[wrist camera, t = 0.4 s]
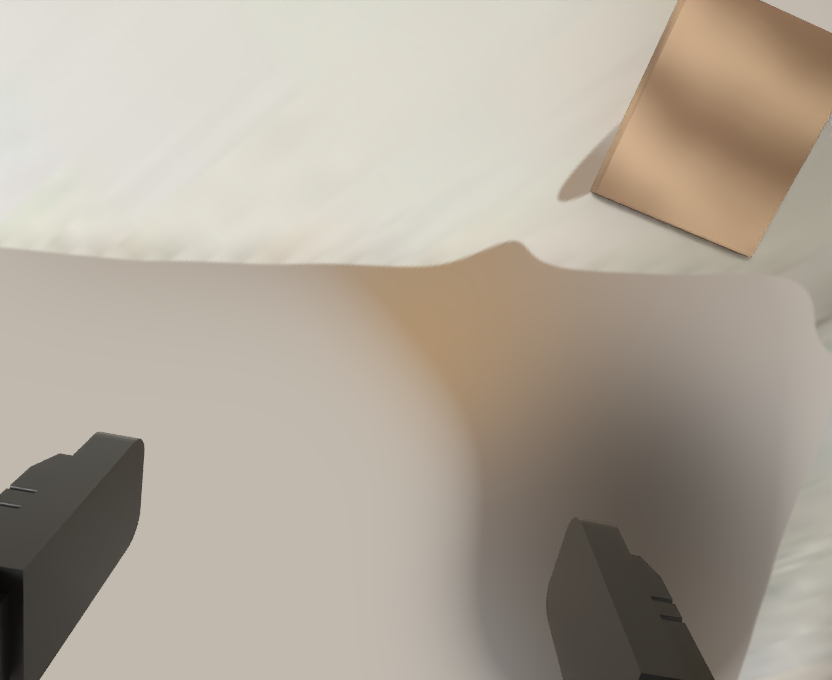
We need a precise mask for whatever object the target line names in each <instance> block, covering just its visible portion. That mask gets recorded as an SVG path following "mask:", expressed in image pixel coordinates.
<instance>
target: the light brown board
mask: <svg viewBox="0 0 832 680" xmlns="http://www.w3.org/2000/svg"><path fill="white" fill-rule="evenodd" d="M831 112H832V33H830V32H828V31H826V30H824V29H822V28H819V27H817V26H815V25H813V24H811V23H808V22H806V21H804V20H802V19H800V18H797V17H795V16H793V15H791V14H789V13H786V12H784V11H782V10H780V9H778V8H776V7H773V6H771V5H769V4H767V3H765V2H762V1H760V0H678V2H677V4H676V6H675V9H674V11H673V13H672V15H671V17H670V19H669V21H668V24H667V26H666V28H665V30H664V32H663V34H662V37H661V39H660V41H659V43H658V45H657V47H656V49H655V52H654V54H653V56H652V58H651V60H650V62H649V65H648V67H647V69H646V71H645V73H644V75H643V77H642V80H641V82H640V84H639V86H638V88H637V90H636V93H635V95H634V97H633V99H632V101H631V103H630V106H629V108H628V110H627V112H626V114H625V116H624V118H623V121H622V123H621V125H620V127H619V129H618V132H617V134H616V136H615V138H614V140H613V142H612V144H611V147H610V149H609V151H608V153H607V155H606V157H605V160H604V162H603V164H602V166H601V168H600V170H599V173H598V175H597V177H596V179H595V181H594V183H593V185H592V187H591V190H590V191H591V192H593V193H596V194H598V195H600V196H603V197H605V198H608V199H610V200H612V201H615V202H617V203H620V204H622V205H624V206H627V207H629V208H632V209H634V210H636V211H639V212H641V213H644V214H646V215H648V216H651V217H653V218H656V219H658V220H660V221H663V222H665V223H667V224H670V225H672V226H675V227H677V228H679V229H682V230H684V231H687V232H689V233H691V234H694V235H696V236H699V237H701V238H703V239H706V240H708V241H711V242H713V243H715V244H718V245H720V246H723V247H725V248H727V249H730V250H732V251H735V252H737V253H739V254H742V255H745V256H748V257H752V255H753V253H754V252H755V250H756V248H757V246H758V244H759V243H760V241H761V239H762V237H763V235H764V234H765V232H766V230H767V228H768V226H769V224H770V223H771V221H772V219H773V217H774V215H775V214H776V212H777V210H778V208H779V206H780V205H781V203H782V201H783V199H784V197H785V196H786V194H787V192H788V190H789V188H790V186H791V185H792V183H793V181H794V179H795V177H796V176H797V174H798V172H799V170H800V168H801V167H802V165H803V163H804V161H805V159H806V158H807V156H808V154H809V152H810V150H811V148H812V147H813V145H814V143H815V141H816V139H817V138H818V136H819V134H820V132H821V130H822V129H823V127H824V125H825V123H826V121H827V120H828V118H829V116H830V114H831Z"/></svg>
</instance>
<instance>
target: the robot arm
mask: <svg viewBox="0 0 832 680" xmlns="http://www.w3.org/2000/svg"><path fill="white" fill-rule="evenodd" d="M143 463H144V443H143V441H142V440H141V439H138V438H132V437H126V436H121V435H115V434H110V433H104V432H97V433H95V434H94V435H93V436H92V437H91V438H90V439H89V440H88V441H87V442H86V443H85V444H84V445H83V446H82V447H81V448H80V449H79V450H78V451H77V452H76V453H75V454H74V455H73V456H71V455H65V454H57V455H55V456H53V457H51V458H49V459H47V460H44V461H42V462H40V463H38V464H36V465H34V466H31V467H30V468H29V469H28V470H27V471H25V472H24V473H23V474H22V475H21V476H20V477H19V478H18V479H17V480H16V481H14V482H13V483H12V484H11V486H10V489H6V490H5V491H3V492H2V493H1V494H0V680H40V678H41V677H42V675H43V674H44V672H45V671H46V669H47V668H48V666H49V665H50V663H51V662H52V660H53V659H54V657H55V656H56V654H57V653H58V651H59V650H60V648H61V647H62V645H63V644H64V642H65V641H66V639H67V638H68V636H69V635H70V633H71V632H72V630H73V629H74V627H75V626H76V624H77V623H78V621H79V620H80V619H81V617H82V616H83V614H84V613H85V611H86V610H87V608H88V607H89V605H90V603H91V602H92V600H93V599H94V598H95V596H96V595H97V593H98V592H99V590H100V589H101V587H102V586H103V584H104V583H105V581H106V580H107V578H108V577H109V575H110V574H111V572H112V571H113V569H114V568H115V566H116V565H117V563H118V562H119V560H120V559H121V557H122V556H123V554H124V553H125V551H126V550H127V548H128V547H129V545H130V543H131V541H132V539H133V536H134V534H135V531H136V528H137V525H138V521H139V515H140V507H141V492H142V478H143ZM546 610H547V618H548V622H549V626H550V630H551V634H552V638H553V642H554V645H555V649H556V653H557V657H558V661H559V665H560V668H561V673H562V677H563V680H714V678H713V676H712V674H711V672H710V670H709V668H708V666H707V664H706V663H705V661H704V659H703V657H702V655H701V653H700V651H699V649H698V648H697V646H696V643H695V642H694V640H693V638H692V636H691V634H690V632H689V630H688V628H687V626H686V624H685V623H682V617H681V615H680V613H679V611H678V609H677V607H676V605H675V604H672V598H671V596H670V594H669V592H668V590H667V588H666V586H665V584H664V583H663V581H662V579H661V577H660V576H659V575H658V574H657V573H656V572H655V571H654V570H653V569H652V568H651V567H650V566H649V565H648V564H647V563H646V562H645V561H644V560H643V559H642V558H641V557H640V556H635V555H630V553H629V551H628V549H627V547H626V545H625V543H624V540H623V538H622V536H621V534H620V532H619V530H618V528H617V527H616V526H615V525H614V524H609V523H603V522H598V521H592V520H587V519H581V518H573V519H572V521H571V522H570V524H569V526H568V528H567V531H566V534H565V537H564V540H563V543H562V546H561V549H560V552H559V555H558V558H557V561H556V564H555V567H554V570H553V573H552V576H551V579H550V582H549V586H548V591H547V600H546Z"/></svg>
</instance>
